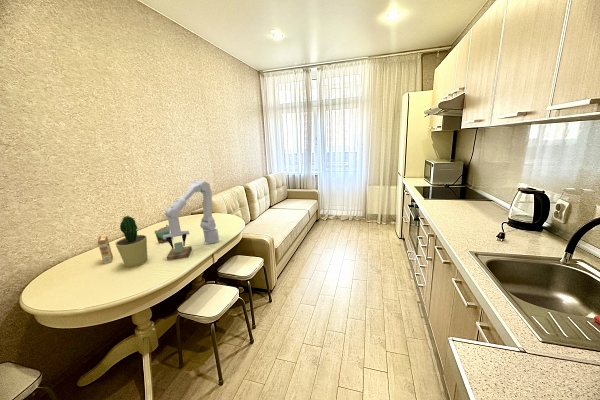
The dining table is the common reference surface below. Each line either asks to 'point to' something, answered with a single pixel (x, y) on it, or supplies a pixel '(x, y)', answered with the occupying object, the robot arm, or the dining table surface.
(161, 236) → the food container
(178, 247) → the sage block
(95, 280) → the dining table surface
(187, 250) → the walnut box
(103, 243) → the candy box
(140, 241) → the potted cactus
